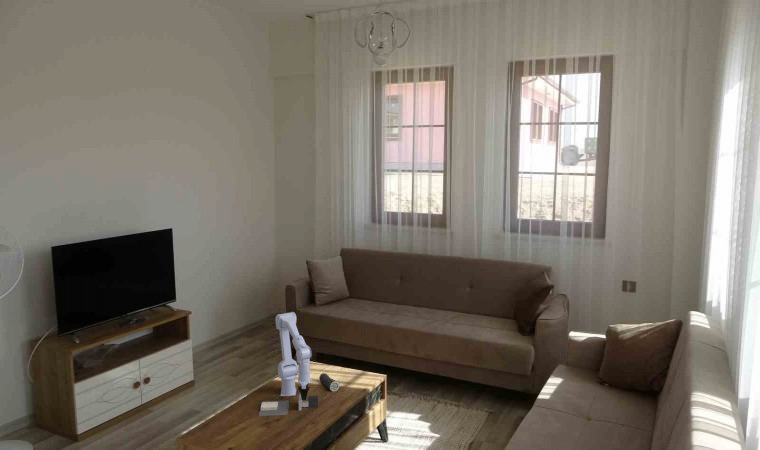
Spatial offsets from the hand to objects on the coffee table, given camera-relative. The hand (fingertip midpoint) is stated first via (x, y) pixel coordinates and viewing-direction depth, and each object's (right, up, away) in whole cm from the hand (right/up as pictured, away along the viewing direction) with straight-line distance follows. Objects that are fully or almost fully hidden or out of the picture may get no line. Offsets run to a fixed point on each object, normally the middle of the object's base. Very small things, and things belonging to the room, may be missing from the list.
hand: (304, 396), depth 287 cm
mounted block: (+2, -6, +1) cm, 7 cm away
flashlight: (+10, -3, +27) cm, 29 cm away
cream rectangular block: (-13, -5, -1) cm, 14 cm away
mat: (-15, -6, -1) cm, 16 cm away
